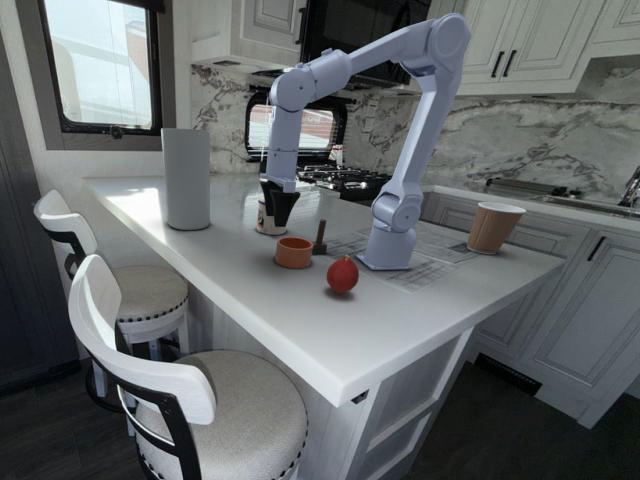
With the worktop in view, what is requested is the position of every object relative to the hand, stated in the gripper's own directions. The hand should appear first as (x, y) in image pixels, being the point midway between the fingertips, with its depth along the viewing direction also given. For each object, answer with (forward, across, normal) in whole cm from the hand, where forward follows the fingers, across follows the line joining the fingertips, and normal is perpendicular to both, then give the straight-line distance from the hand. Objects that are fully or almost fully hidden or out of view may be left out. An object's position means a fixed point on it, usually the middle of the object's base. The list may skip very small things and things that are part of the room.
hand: (275, 220), depth 65 cm
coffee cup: (+10, -7, +63) cm, 64 cm away
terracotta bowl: (+10, -1, +6) cm, 12 cm away
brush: (+10, -6, +14) cm, 18 cm away
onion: (+10, +14, +10) cm, 20 cm away
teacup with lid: (+10, -22, +6) cm, 25 cm away
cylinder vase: (+10, -30, -18) cm, 36 cm away
